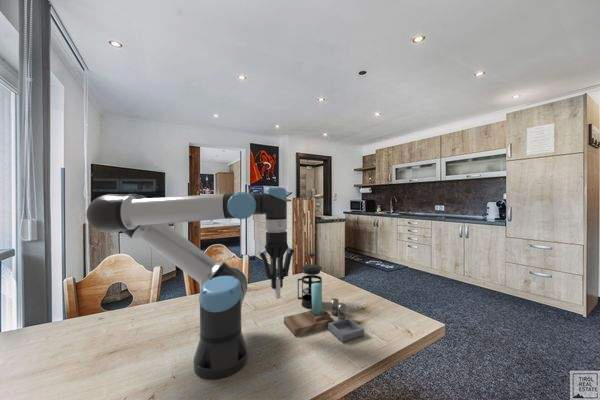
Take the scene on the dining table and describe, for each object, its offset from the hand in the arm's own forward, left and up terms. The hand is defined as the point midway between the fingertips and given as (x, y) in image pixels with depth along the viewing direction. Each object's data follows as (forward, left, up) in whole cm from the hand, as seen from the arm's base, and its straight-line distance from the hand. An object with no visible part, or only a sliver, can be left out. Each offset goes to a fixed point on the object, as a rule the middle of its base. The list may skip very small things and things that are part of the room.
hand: (277, 297), depth 89 cm
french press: (+22, +15, -13) cm, 30 cm away
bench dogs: (+26, 0, -13) cm, 29 cm away
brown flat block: (+13, 0, -14) cm, 19 cm away
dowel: (+17, 0, -10) cm, 20 cm away
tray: (+22, -11, -13) cm, 28 cm away
